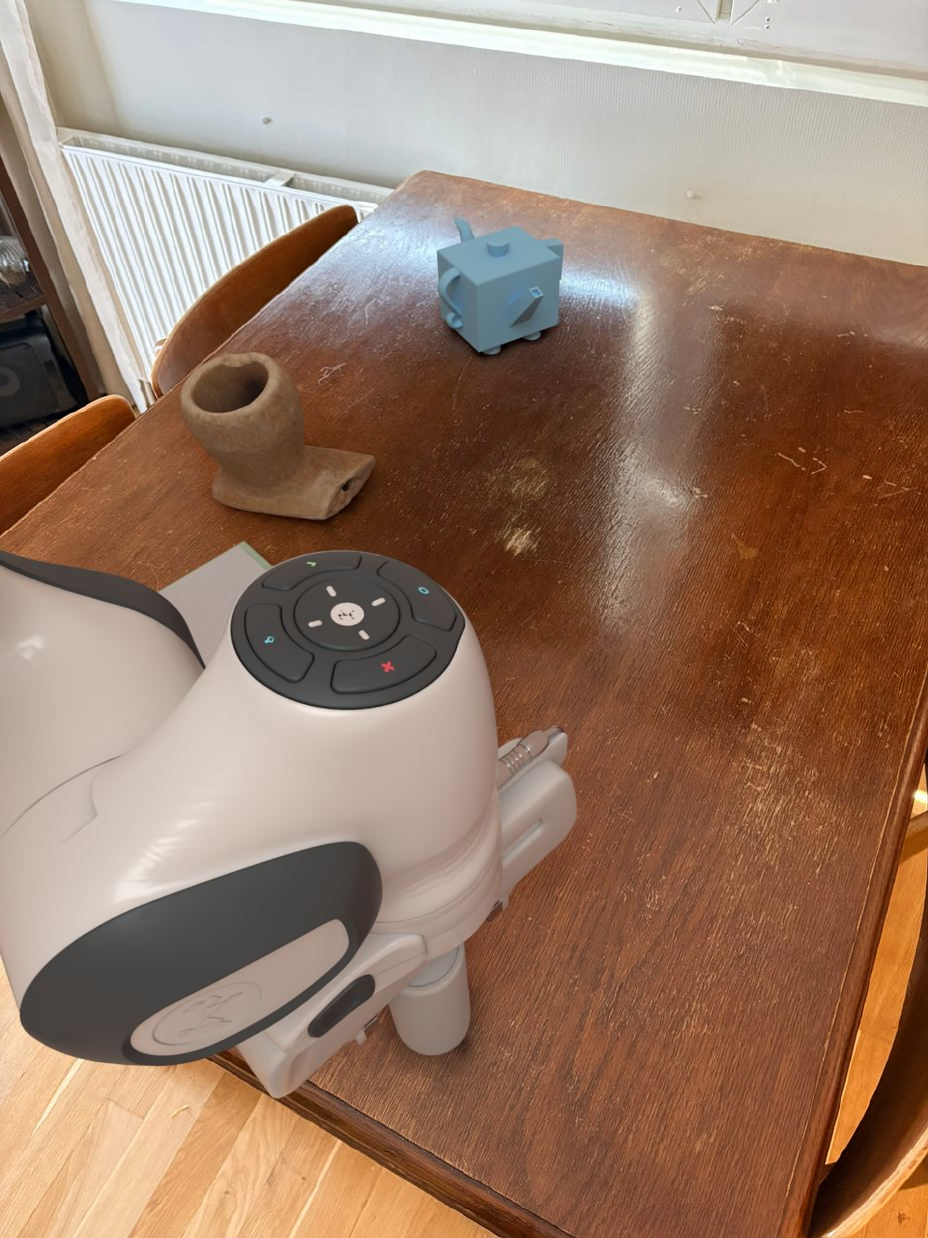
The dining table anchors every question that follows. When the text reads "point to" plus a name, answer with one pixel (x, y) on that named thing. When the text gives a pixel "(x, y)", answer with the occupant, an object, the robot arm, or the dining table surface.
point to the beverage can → (435, 1006)
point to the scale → (214, 594)
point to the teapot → (499, 286)
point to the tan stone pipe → (265, 441)
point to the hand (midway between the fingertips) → (427, 963)
